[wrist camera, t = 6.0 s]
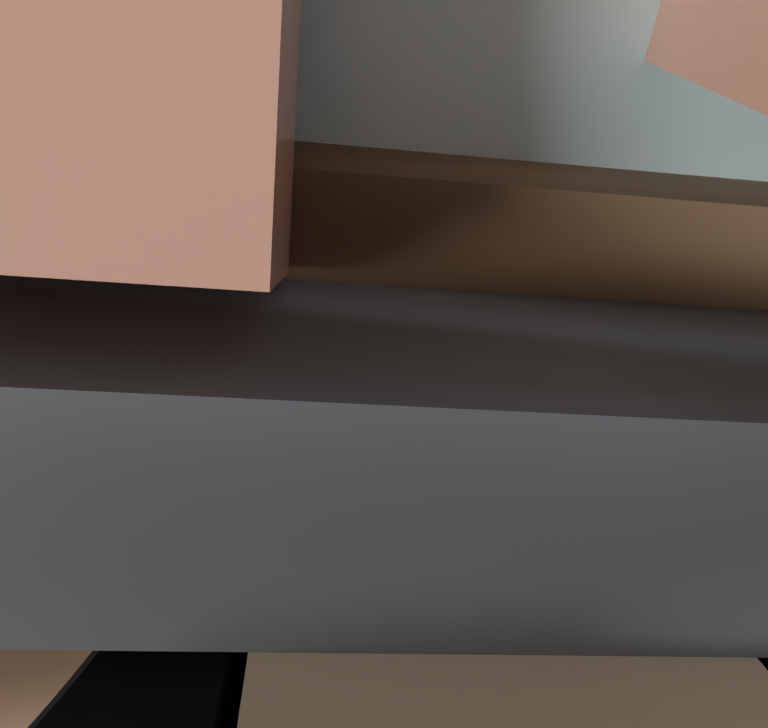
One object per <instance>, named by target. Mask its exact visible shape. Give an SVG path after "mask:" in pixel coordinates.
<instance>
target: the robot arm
mask: <svg viewBox="0 0 768 728" xmlns="http://www.w3.org/2000/svg"><path fill="white" fill-rule="evenodd" d="M247 656H248V652H178V651H92V652H91V653H90V655H89V656H88V657H87V658H86V660H85V661H84V662H83V663H82V664H81V666H80V667H79V668H78V669H77V670H76V672H75V673H74V674H73V675H72V677H71V678H70V679H69V680H68V681H67V683H66V684H65V685H64V686H63V687H62V689H61V690H60V691H59V692H58V693H57V694H56V696H55V697H54V698H53V699H52V700H51V702H50V703H49V704H48V705H47V706H46V707H45V708H44V710H43V711H42V712H41V713H40V714H39V715H38V716H37V718H36V719H35V720H34V721H33V722H32V723H31V724H30V725H29V727H28V728H237V724H238V717H239V710H240V703H241V697H242V690H243V683H244V677H245V670H246V663H247ZM758 660H759V661H760V662H761V663H762V664H763V666H764V667H765V668H766V669H767V670H768V658H758Z"/></svg>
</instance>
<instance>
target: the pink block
mask: <svg viewBox="0 0 768 728" xmlns="http://www.w3.org/2000/svg"><path fill="white" fill-rule="evenodd" d="M644 61H647V62H649V63H651V64H653V65H656V66H658V67H660V68H662V69H664V70H667V71H669V72H671V73H673V74H675V75H678V76H680V77H682V78H684V79H686V80H689V81H691V82H693V83H695V84H698V85H700V86H702V87H704V88H706V89H709V90H711V91H713V92H715V93H717V94H720V95H722V96H724V97H726V98H728V99H731V100H733V101H735V102H737V103H740V104H742V105H744V106H746V107H748V108H751V109H753V110H755V111H757V112H759V113H762V114H764V115H766V116H768V0H661V2H660V6H659V9H658V13H657V16H656V20H655V23H654V27H653V30H652V34H651V37H650V41H649V45H648V48H647V52H646V55H645V59H644Z"/></svg>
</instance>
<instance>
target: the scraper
mask: <svg viewBox="0 0 768 728" xmlns="http://www.w3.org/2000/svg"><path fill="white" fill-rule="evenodd" d="M0 650H83V651H178V652H248V656H247V663H246V670H245V677H244V683H243V690H242V697H241V703H240V710H239V717H238V724H237V728H768V670H767V669H766V668H765V667H764V666H763V664H762V663H761V662H760V661H759V660H758V658H768V310H753V309H737V308H722V307H707V306H692V305H676V304H661V303H646V302H631V301H615V300H600V299H585V298H570V297H555V296H539V295H524V294H509V293H494V292H478V291H463V290H448V289H433V288H417V287H402V286H387V285H372V284H357V283H341V282H326V281H311V280H296V279H282V280H281V281H280V282H279V283H278V284H277V285H276V286H275V287H274V288H273V289H272V290H271V291H270V292H257V291H242V290H226V289H210V288H195V287H179V286H163V285H148V284H132V283H117V282H101V281H85V280H70V279H54V278H38V277H23V276H7V275H0Z"/></svg>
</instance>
